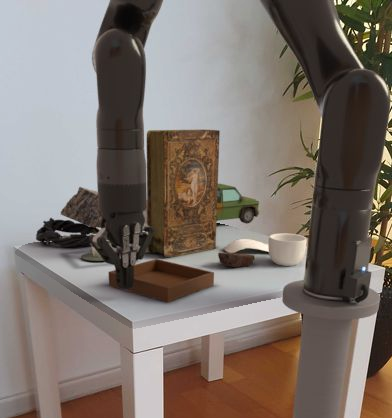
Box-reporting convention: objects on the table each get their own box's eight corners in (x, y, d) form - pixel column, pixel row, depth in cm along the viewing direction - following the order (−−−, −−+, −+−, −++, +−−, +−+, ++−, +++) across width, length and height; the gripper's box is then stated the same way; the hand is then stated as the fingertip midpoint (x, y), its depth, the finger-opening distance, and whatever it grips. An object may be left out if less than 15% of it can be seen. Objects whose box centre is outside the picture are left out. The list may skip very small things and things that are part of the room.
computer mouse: (276, 257, 120) (276, 244, 119) (221, 255, 123) (221, 243, 121) (279, 247, 128) (280, 235, 127) (228, 246, 130) (228, 234, 129)
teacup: (308, 268, 112) (311, 241, 110) (271, 268, 112) (273, 241, 109) (296, 255, 121) (298, 231, 119) (262, 255, 121) (263, 231, 119)
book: (202, 243, 131) (205, 129, 121) (219, 247, 127) (223, 130, 117) (147, 253, 120) (145, 130, 110) (163, 258, 117) (163, 131, 107)
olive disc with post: (135, 260, 114) (134, 236, 112) (77, 266, 109) (75, 241, 107) (116, 248, 124) (116, 225, 122) (63, 252, 119) (61, 229, 117)
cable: (53, 231, 139) (52, 213, 138) (108, 234, 139) (107, 216, 137) (31, 246, 123) (29, 227, 122) (93, 249, 123) (92, 229, 121)
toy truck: (261, 223, 154) (263, 185, 150) (195, 230, 144) (195, 191, 140) (239, 216, 163) (240, 180, 159) (174, 223, 153) (174, 185, 149)
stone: (212, 265, 112) (212, 250, 111) (232, 259, 118) (233, 244, 116) (238, 271, 109) (240, 256, 107) (258, 265, 114) (260, 250, 113)
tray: (213, 285, 100) (214, 272, 99) (167, 302, 91) (167, 287, 90) (156, 271, 108) (156, 258, 107) (108, 285, 99) (108, 271, 98)
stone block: (69, 181, 123) (56, 213, 125) (106, 199, 124) (93, 231, 126) (85, 185, 137) (73, 214, 139) (118, 201, 138) (106, 229, 139)
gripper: (106, 185, 78) (111, 301, 85) (168, 178, 88) (168, 283, 95) (72, 180, 82) (79, 291, 89) (134, 173, 92) (136, 275, 99)
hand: (125, 287), depth 92 cm, fingers closed
